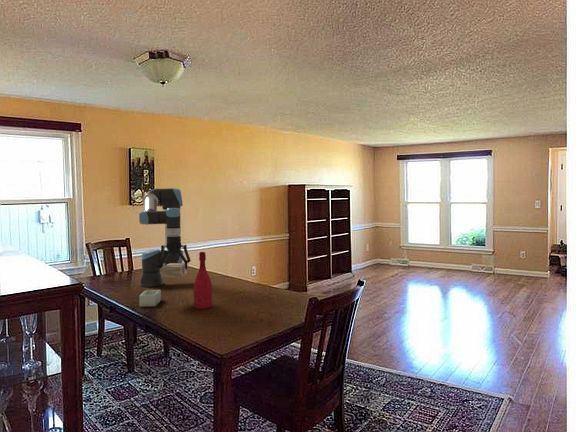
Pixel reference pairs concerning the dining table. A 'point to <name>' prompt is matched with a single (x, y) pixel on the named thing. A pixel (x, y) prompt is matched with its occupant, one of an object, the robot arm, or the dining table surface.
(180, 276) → the lid
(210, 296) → the wine bottle
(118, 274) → the dining table surface
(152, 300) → the dish
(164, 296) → the dining table surface
